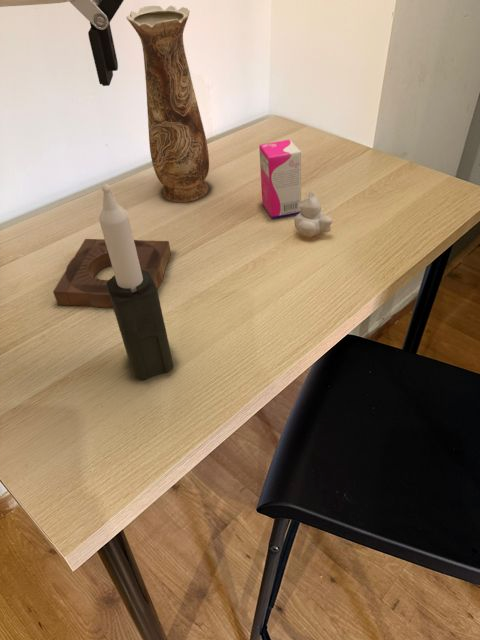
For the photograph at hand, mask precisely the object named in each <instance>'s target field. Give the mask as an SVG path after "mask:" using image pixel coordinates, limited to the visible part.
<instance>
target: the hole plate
mask: <svg viewBox="0 0 480 640" xmlns="http://www.w3.org/2000/svg"><path fill="white" fill-rule="evenodd" d="M134 243H135V247H136V251H137V255H138V260H139V264H140V268H141V270H145V271H148V272H149V273H150V275H151V277H152V279H153V281H154V283H155V285H156V287H157V290H158V289H159V286H160V285H161V284H162V282H163V281H164V280H163V279H164V276H165V271H166V268H167V265H168V263H169V260H170V258H171V255H172V252H171V245H170V240H145V239H144V240H143V239H142V240H139V239H134ZM108 267H112V264H111V260H110V257H109V253H108V250H107V246H106V242H105V239H103V238H85V239H84V240H83V242H82V243H81V245H80V246H79V248H78V250H77V251H76V253H75V255H74V256H73V258H72V259H71V260H70V261H69V262H68V264H67V266H66V268H65V271H64V273H63V275H62V276H61V278H60V280H59V281H58V283H57V284H56V286H55V288H54V289H53V291H52V293H53V295H54V299H55V300H56V304H57V305H58V306H79V307H93V308H102V309H109V308H110V309H111V308H113V305H112V302H111V299H110V295H109V292H108V289H107V281H108V280H109V279H99V278H97V277H96V276H97V274H98V273H99V272H100V271H102V270H104V269H106V268H108Z"/></svg>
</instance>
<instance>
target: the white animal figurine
mask: <svg viewBox="0 0 480 640" xmlns="http://www.w3.org/2000/svg"><path fill="white" fill-rule="evenodd" d="M299 207H300V208H301V209H300V211H301V212H300V213H299V214H298V215H295V217H294V219H293V223H294V228H295V229H296V231H297V232H298V234H299V235H301V236H304V237H307V238H312V237H315V236H317V235H319V234H320V233H321V232H322V233H329V232H331V230H332V228H331V225H332V223H333V220H334V219H333V217H332V216H330V215H327V214H326V215H324V212H323V211H322V203H321V200H320V199H319V198H318V196H317V195H316V194H315V193H314V192H313V193H311V190H310V189H309V190H308V195H306V197H304V199H303V201H301V204H300V205H299Z"/></svg>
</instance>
